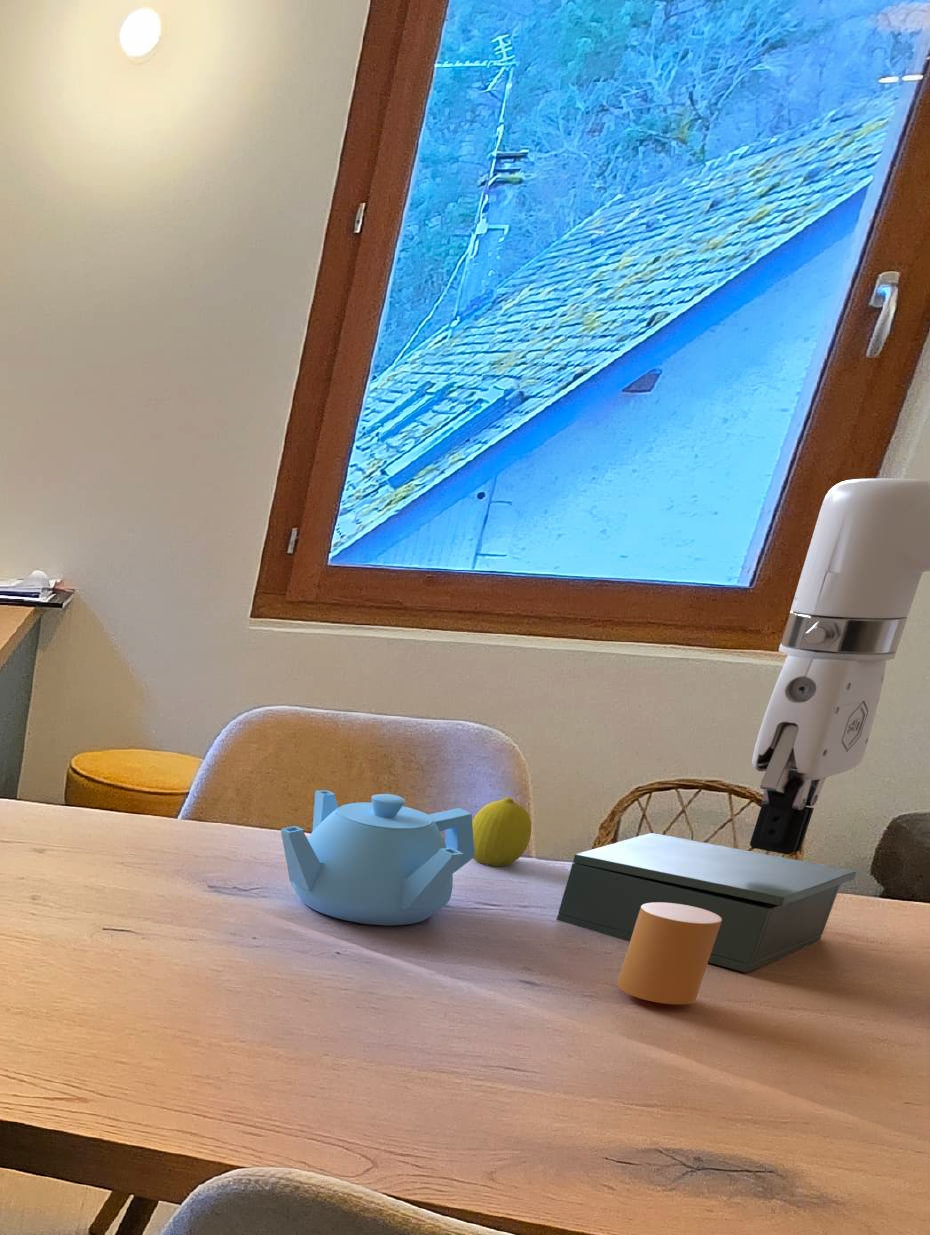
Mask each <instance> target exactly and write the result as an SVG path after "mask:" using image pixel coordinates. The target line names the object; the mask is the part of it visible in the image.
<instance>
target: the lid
mask: <svg viewBox="0 0 930 1235" xmlns="http://www.w3.org/2000/svg"><path fill="white" fill-rule="evenodd" d="M572 863H578V864H583V865H588V866H593V867H597V868H602V869H607V870H612V871H617V872H621V873H626V874H631V875H636V876H640V877H645V878H650V879H655V880H659V881H664V882H669V883H674V884H679V885H683V886H688V887H693V888H698V889H702V890H707V891H712V892H717V893H722V894H726V895H731V896H736V897H741V898H745V899H750V900H755V901H760V902H764V903H769V904H774V905H779V906H783V905H786V904H788V903H791V902H794V901H797V900H799V899H802V898H805V897H807V896H810V895H813V894H816V893H818V892H821V891H824V890H826V889H829V888H832V887H835V886H837V885H840V886H841V885H843V884H845V883H848V882H850V881H854V880H855V878H856V875H857V870H854V869H847V868H842V867H838V866H832V865H827V864H822V863H817V862H811V861H806V860H798V859H795V858H790V857H784V856H777V855H773V854H768V853H761V852H757V851H752V850H745V849H740V848H736V847H735V848H734V847H729V846H724V845H719V844H714V843H709V842H701V841H698V840H692V839H687V838H682V837H677V836H670V835H666V834H661V833H660V834H659V833H654V832H649V833H645V834H643V835H638V836H635V837H631V838H628V839H623V840H621V841H617V842H613V843H609V844H606V845H603V846H600V847H596V848H593V849H588V850H585V851H582V852H578V853H575V854H574V855H573V860H572Z"/></svg>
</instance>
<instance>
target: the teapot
mask: <svg viewBox="0 0 930 1235" xmlns="http://www.w3.org/2000/svg"><path fill="white" fill-rule="evenodd" d="M405 802H406V799H405V798H403V797H402V796H398V795H396V794H391V793H378V794H373V795H371V801H370V802H369V801H368V802H366V801H365V802H361V801H360V802H350V803H345V804H343V805H341V806H339V804H338V801H337V799H336V793H335V792H332V791H329V790H327V789H325V790H315V793H314V805H313V820H312V831H311V833H310V834H309V835H308V836H306V834H305V829H304V828H301V827H299V826H297V825H293V826H287V827H284V828H280V834H281V840H282V845H283V850H284V856H285V861H286V867H287V872H288V877H289V881H290V885H291V886H292V888H293V889H294V892H296V894H297V896H298V897H299V898H300V900H301V901H302V903H303V904H305V905H306V906H307V907H309V908H311V909H313V911H316V912H319V913H321V914H324V915H326V916H329V917H332V918H335V919H339V920H343V921H348V922H352V923H358V924H363V925H373V926H374V925H375V926H406V925H413V924H418V923H420V922H423V921H425V920H427V919H428V918H430V917H432V916H434V915H435V914H436V913H438V912H439V911H441V910H442V909H443V908H445V906H447V904H448V903H449V901H450V900H451V897H452V892H453V884H454V880H453V879H454V876H453V874H455V873H456V872H457V871H458V870H461V868H463V867H464V866H465V865H467V863H469V862H470V861H472V860H474V857H475V851H474V839H473V826H472V821H473V816H472V812H471V813H470V812H469V811H466V810H465V809H463V808H461V807H456V808H453V809H452V808H451V809H447V810H443V811H439V812H438V811H437V812H434V813H428V814H427V813H425V812H423V811H420V810H418V809H415V808H412V807H408V806H404V804H405ZM443 831H445V836H444V837H445V840H444V838H443V835H442V833H441V832H443Z"/></svg>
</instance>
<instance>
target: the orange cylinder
mask: <svg viewBox="0 0 930 1235" xmlns="http://www.w3.org/2000/svg"><path fill="white" fill-rule="evenodd" d="M721 922H722V918H721V917H720V916H719V915H717V914H715V913H713V912H710V911H707V910H704V909H701V908H697V907H693V906H688V905H682V904H675V903H664V902H653V903H646V904H643V905H642V906H641V908H640V911H639V914H638V918H637V921H636V924H635V927H634V931H633V934H632V937H631V940H630V941H629V944H628V947H627V951H626V954H625V957H624V960H623V963H622V967H621V970H620V973H619V976H618V980H617V983H616V987H617V988H618V989H619V990H620V991H621V992H623V993H625V994H627V995H629V996H631V997H635V998H637V999H640V1000H643V1001H648V1002H654V1003H658V1004H665V1005H690V1004H691V1003H694V1002H695V1001H696V999H697V998H698V994H699V992H700V991H699V990H700V987H701V984H702V982H703V978H704V976H705V973H706V970H707V966H708V964H709V963H708V961H709V958H710V955H711V952H712V949H713V946H714V943H715V940H716V937H717V934H718V931H719V928H720V925H721Z"/></svg>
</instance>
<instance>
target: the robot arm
mask: <svg viewBox="0 0 930 1235" xmlns="http://www.w3.org/2000/svg"><path fill="white" fill-rule="evenodd" d="M808 546H809V547H808V550H807V552H806V557H805V560H804V564H803V567H802V570H801V573H800V577H799V580H798V584H797V587H796V589H795V590H796V591H795V594H794V598H793V601H792V604H791V607H790V610H789V615H788V617H787V620H786V624H785V628H784V630H783V635H782V638H781V641H780V643H779V648H778V652H779V653H781V654H785V655H787V656H786V658H785V661H784V663H783V665H782V668H781V670H780V671H779V672H780V673H779V675H778V677H777V680H776V683H775V685H774V687H773V688H774V689H773V691H772V694H771V696H770V698H769V701H768V703H767V707H766V709H765V714H764V716H763V718H762V721H761V725H760V727H759V730H758V734H757V738H756V741H755V745H754V748H753V749H754V750H753V754H752V758H751V765H752V767H753V768H754V769H755V770H756V771H758V772H765V773H764V775H763V777H762V780H761V783H760V784H759V786H760V789H761V790H764V792H763V795H762V798H761V806H760V809H759V812H758V816H757V819H756V822H755V825H754V828H753V831H752V835H751V839H750V842H749V846H750V847H751V848H752V849H756V850H761V851H766V852H772V853H777V854H782V855H792V854H794V853H798V852H800V851H801V849H802V846H803V843H804V842H805V839H806V838H805V837H806V834H807V831H808V829H809V825H810V822H811V819H812V815H813V812H814V809H815V808H814V806H815V805H816V804H817V801H818V800H819V796H820V794H821V792H822V789H823V786H824V784H825V781H826V779H827V778H828V777H833V776H835V775H839V774H841V773H844V772H847V771H850V770H853V769H854V768H856V767H858V766H859V765H860V764H861V762H862V761H863V759H864V756H865V752H866V750H867V745H868V742H869V738H870V735H871V731H872V727H873V723H874V720H875V717H876V713H877V709H878V705H879V701H880V698H881V693H882V688H883V684H884V680H885V675H886V674H885V673H886V667H887V661H890V660H894V659H895V657H896V654H897V651H898V648H899V645H900V642H901V639H902V636H903V633H904V631H905V627H906V623H907V621H908V617H909V614H910V612H911V608H912V605H913V602H914V598H915V596H916V593H917V590H918V587H919V584H920V581H921V577H922V575H923V573H925V572H930V480H929V479H923V478H922V479H921V478H892V477H891V478H889V477H887V478H886V477H885V478H880V477H879V478H853V479H847V480H844V481H840V482H839V483H836V484H835V485H834V486H832V487H831V488H830V489H829V490H828V491H827V493H826V494H825V497H824V498H823V500H822V504H821V507H820V510H819V512H818V517H817V520H816V523H815V527H814V530H813V533H812V537H811V540H810V543H809V545H808Z"/></svg>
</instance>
